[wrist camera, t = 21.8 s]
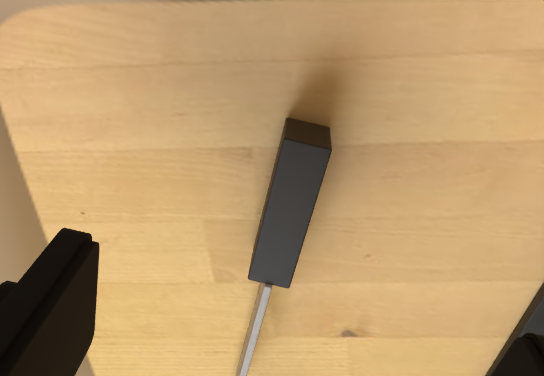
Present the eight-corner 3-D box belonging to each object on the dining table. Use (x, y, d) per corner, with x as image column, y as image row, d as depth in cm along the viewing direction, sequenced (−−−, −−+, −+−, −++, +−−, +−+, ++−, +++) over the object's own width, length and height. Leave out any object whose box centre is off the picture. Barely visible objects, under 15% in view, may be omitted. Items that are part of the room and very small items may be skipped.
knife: (286, 116, 23) (283, 139, 21) (330, 127, 24) (332, 151, 21) (222, 370, 32) (214, 410, 29) (255, 377, 32) (250, 417, 29)
